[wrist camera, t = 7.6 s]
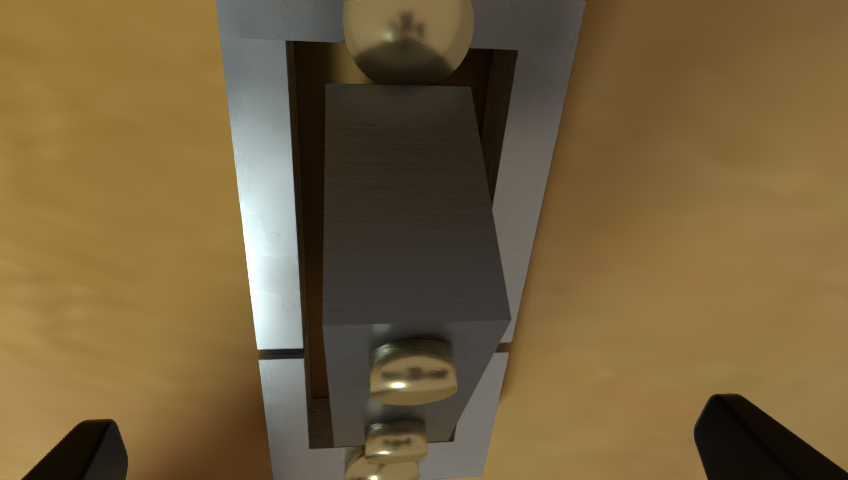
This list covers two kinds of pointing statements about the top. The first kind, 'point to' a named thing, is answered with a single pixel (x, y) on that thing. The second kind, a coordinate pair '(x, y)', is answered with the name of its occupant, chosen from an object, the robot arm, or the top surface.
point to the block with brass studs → (406, 266)
